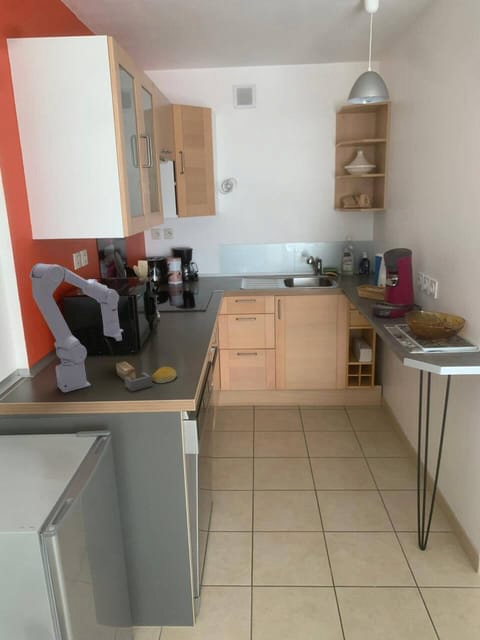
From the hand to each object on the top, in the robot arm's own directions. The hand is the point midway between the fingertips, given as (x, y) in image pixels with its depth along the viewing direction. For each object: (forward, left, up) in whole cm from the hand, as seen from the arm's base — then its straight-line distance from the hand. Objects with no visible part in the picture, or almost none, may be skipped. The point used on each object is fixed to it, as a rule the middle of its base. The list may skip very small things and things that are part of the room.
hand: (115, 354), depth 179 cm
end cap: (0, -22, -6) cm, 23 cm away
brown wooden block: (0, -10, -6) cm, 12 cm away
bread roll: (+10, -21, -7) cm, 24 cm away
